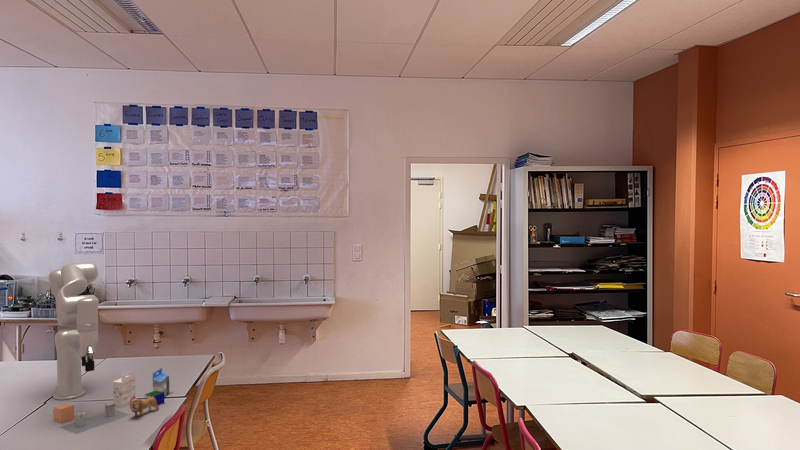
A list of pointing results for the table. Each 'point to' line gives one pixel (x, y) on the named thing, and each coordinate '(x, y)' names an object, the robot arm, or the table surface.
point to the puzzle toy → (156, 396)
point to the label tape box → (161, 382)
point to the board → (94, 422)
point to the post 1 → (80, 419)
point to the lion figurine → (142, 405)
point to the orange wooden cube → (63, 413)
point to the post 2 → (109, 409)
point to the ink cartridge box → (124, 389)
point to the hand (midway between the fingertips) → (88, 368)
